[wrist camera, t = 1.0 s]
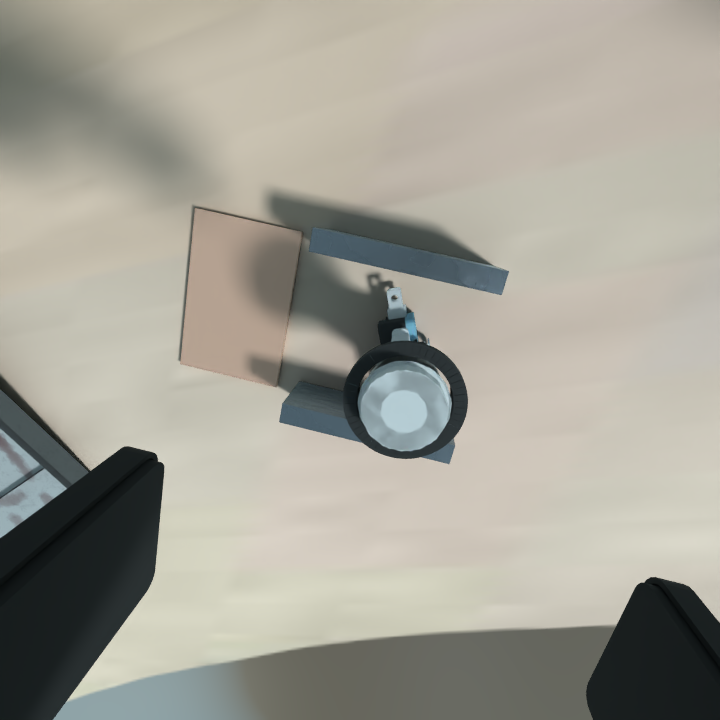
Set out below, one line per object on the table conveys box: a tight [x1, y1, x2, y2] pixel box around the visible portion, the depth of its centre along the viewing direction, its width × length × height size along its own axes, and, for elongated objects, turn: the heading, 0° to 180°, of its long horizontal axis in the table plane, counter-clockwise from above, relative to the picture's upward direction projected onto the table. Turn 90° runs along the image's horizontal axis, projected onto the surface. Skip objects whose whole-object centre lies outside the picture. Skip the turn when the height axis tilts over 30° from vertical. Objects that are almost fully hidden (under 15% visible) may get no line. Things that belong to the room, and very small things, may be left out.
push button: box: [343, 287, 468, 459], centre depth 22 cm, size 7×5×10 cm
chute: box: [279, 227, 509, 464], centre depth 25 cm, size 10×11×4 cm
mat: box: [180, 208, 303, 387], centre depth 27 cm, size 7×10×1 cm, turn 168°
